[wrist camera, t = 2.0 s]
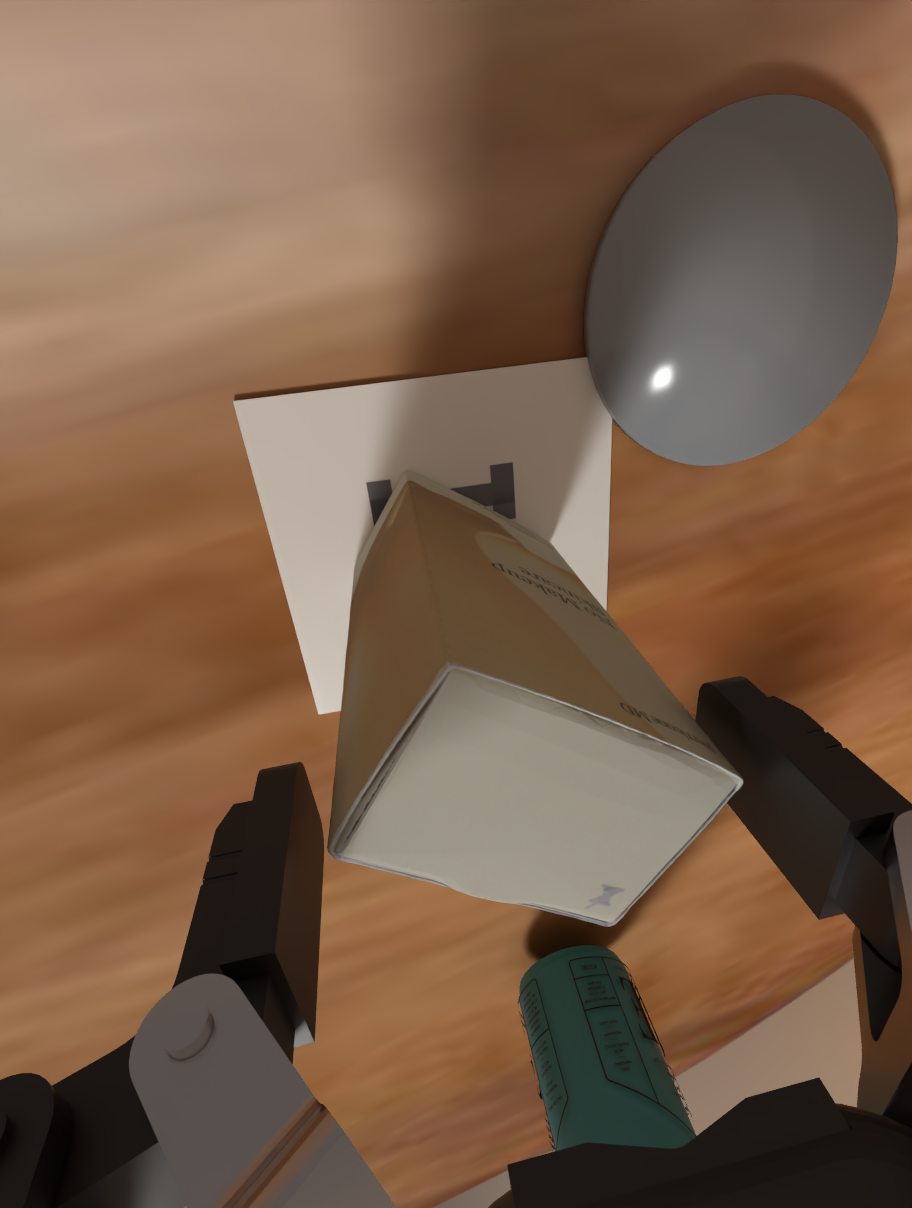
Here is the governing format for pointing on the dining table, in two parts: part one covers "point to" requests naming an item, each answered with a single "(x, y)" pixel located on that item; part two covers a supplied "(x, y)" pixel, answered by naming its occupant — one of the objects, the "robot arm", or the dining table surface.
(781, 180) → the slate coaster
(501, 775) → the skincare box
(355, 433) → the card
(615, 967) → the beverage bottle
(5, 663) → the dining table surface
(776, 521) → the dining table surface
